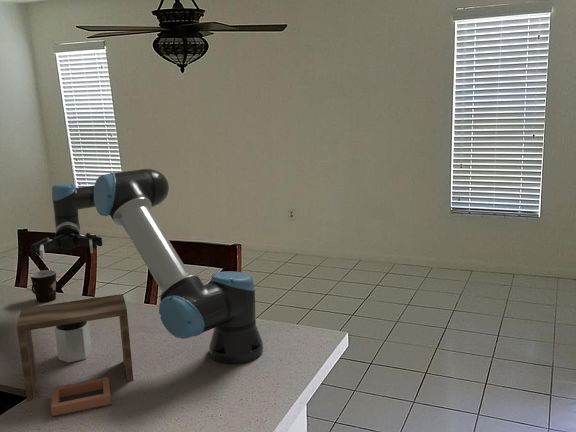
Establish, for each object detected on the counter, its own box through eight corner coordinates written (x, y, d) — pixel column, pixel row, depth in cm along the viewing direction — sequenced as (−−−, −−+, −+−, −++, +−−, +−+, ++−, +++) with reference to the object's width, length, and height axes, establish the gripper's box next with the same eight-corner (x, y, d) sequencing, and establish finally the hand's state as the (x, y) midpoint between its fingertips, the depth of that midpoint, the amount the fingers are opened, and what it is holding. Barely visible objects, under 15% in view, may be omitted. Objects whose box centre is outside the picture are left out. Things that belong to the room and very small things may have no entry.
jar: (60, 365, 150) (55, 324, 147) (56, 353, 157) (52, 314, 154) (94, 357, 154) (89, 317, 152) (89, 346, 161) (85, 308, 159)
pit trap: (53, 396, 134) (52, 387, 133) (109, 385, 138) (108, 376, 138) (52, 417, 125) (51, 407, 125) (111, 404, 130) (110, 395, 129)
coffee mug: (49, 294, 206) (46, 268, 204) (64, 297, 202) (61, 271, 200) (21, 304, 197) (17, 277, 194) (35, 308, 192) (32, 281, 190)
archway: (30, 378, 143) (21, 308, 139) (129, 360, 152) (122, 293, 148) (27, 401, 132) (16, 326, 128) (133, 380, 141) (126, 309, 137)
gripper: (108, 242, 184) (112, 258, 164) (27, 251, 175) (21, 269, 156) (106, 220, 182) (110, 234, 163) (24, 228, 173) (17, 244, 154)
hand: (66, 251), depth 159 cm, fingers open, 13 cm apart
